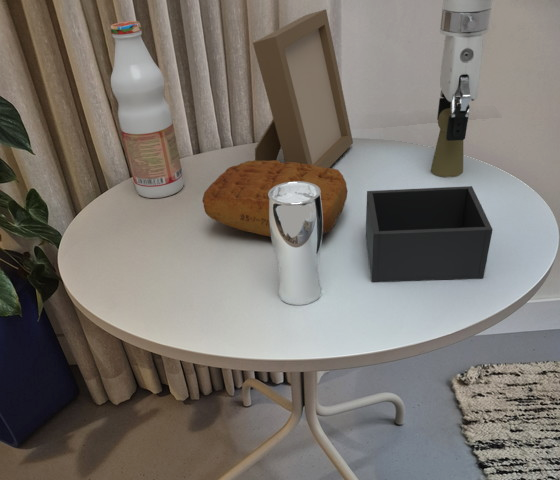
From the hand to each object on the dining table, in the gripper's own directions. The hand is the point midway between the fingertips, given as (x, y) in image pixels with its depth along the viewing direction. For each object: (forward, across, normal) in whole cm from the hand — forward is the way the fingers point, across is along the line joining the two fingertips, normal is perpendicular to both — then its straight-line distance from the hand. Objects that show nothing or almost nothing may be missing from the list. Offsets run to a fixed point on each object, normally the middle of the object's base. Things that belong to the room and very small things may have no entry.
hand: (450, 129), depth 104 cm
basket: (+7, -31, +9) cm, 33 cm away
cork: (+8, 0, 0) cm, 8 cm away
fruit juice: (+8, -2, +55) cm, 55 cm away
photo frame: (+8, +7, +28) cm, 30 cm away
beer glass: (+8, -40, +27) cm, 49 cm away
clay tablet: (+8, -18, +31) cm, 37 cm away
